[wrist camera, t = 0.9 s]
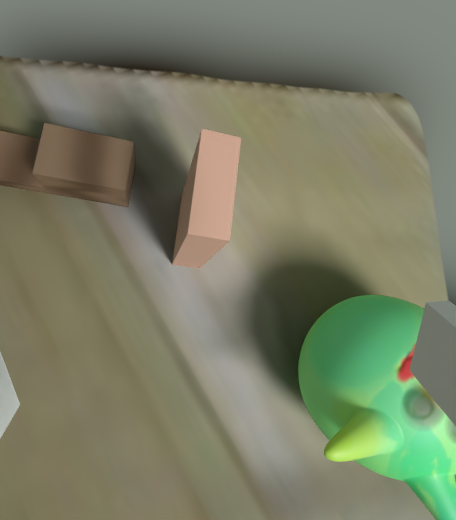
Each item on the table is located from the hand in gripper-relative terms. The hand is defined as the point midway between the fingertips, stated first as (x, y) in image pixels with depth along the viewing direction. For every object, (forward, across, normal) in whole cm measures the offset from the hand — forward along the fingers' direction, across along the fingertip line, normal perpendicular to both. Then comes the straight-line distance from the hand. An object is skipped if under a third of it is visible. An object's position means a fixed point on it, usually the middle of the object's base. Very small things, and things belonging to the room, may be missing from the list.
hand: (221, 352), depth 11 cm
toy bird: (+21, +15, -22) cm, 34 cm away
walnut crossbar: (+29, -18, +2) cm, 34 cm away
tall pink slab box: (+28, -2, -6) cm, 28 cm away
